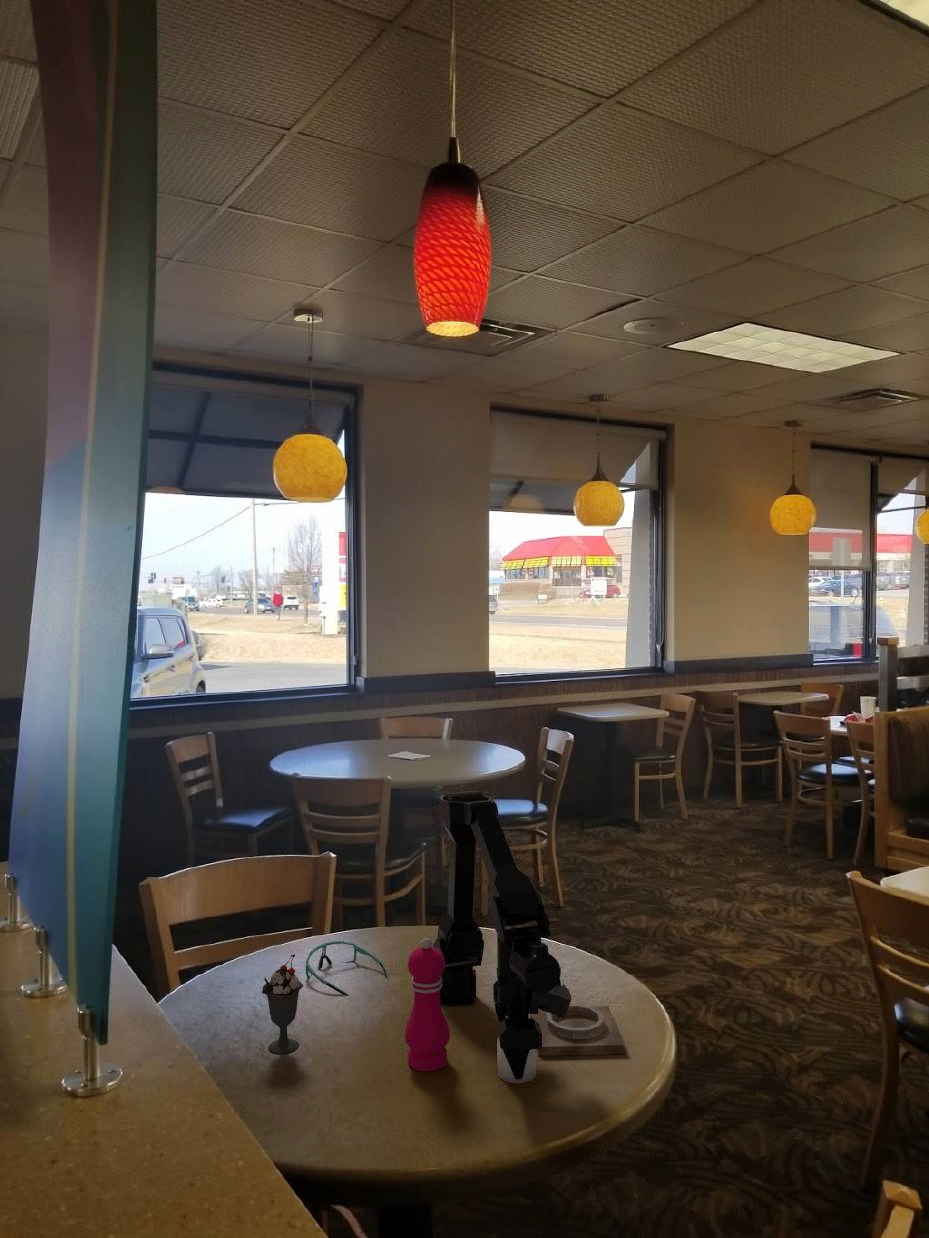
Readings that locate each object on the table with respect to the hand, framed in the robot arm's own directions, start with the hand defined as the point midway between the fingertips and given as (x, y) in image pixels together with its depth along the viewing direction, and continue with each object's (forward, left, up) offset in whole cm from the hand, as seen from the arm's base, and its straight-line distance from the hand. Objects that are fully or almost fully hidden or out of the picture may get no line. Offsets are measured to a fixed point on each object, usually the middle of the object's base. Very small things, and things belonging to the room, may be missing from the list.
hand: (516, 1066), depth 141 cm
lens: (0, 0, -1) cm, 1 cm away
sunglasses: (-31, +38, -2) cm, 49 cm away
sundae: (-38, +10, -1) cm, 39 cm away
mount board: (+11, +12, -1) cm, 16 cm away
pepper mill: (-14, +4, -1) cm, 15 cm away
